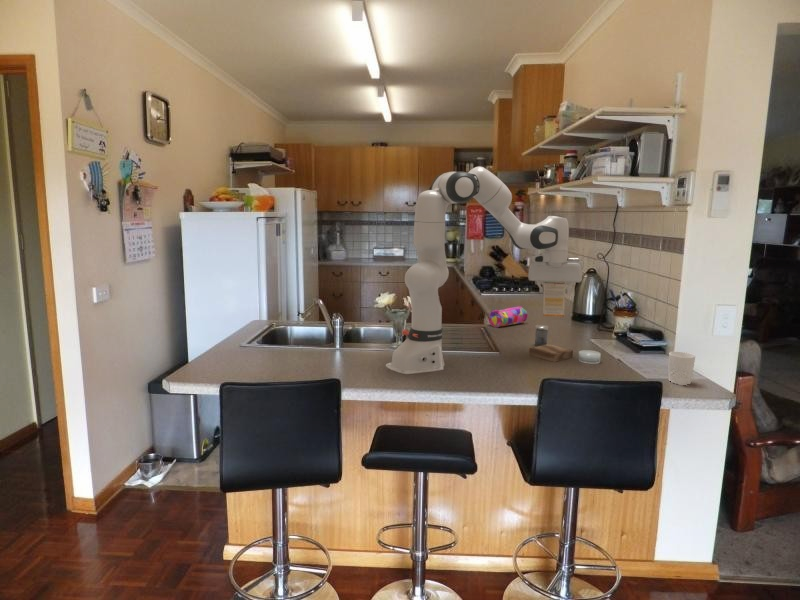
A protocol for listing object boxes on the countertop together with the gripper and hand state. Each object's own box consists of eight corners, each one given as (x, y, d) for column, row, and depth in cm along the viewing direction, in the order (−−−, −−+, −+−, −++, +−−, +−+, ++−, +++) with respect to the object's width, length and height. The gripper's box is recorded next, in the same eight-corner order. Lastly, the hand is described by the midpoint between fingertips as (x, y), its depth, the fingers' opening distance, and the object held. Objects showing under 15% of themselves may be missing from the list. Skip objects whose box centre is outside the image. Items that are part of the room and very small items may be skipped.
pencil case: (500, 329, 258) (501, 311, 257) (486, 326, 266) (487, 308, 264) (528, 324, 272) (529, 307, 270) (514, 321, 279) (515, 304, 278)
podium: (553, 362, 202) (553, 354, 201) (528, 355, 211) (529, 347, 211) (572, 357, 209) (573, 349, 208) (547, 351, 218) (548, 343, 218)
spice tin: (541, 348, 222) (542, 328, 221) (531, 345, 227) (532, 325, 225) (549, 346, 226) (551, 326, 224) (539, 344, 230) (541, 324, 228)
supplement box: (564, 314, 208) (565, 282, 206) (564, 317, 204) (565, 283, 202) (542, 313, 211) (544, 281, 209) (542, 316, 206) (543, 283, 204)
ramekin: (592, 365, 198) (592, 356, 198) (574, 360, 205) (574, 352, 204) (604, 362, 203) (605, 353, 203) (586, 357, 210) (586, 349, 209)
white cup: (670, 385, 176) (673, 356, 175) (663, 378, 184) (665, 350, 182) (695, 387, 175) (699, 358, 173) (687, 379, 183) (690, 352, 181)
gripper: (584, 257, 203) (582, 293, 205) (530, 256, 210) (529, 290, 212) (583, 258, 197) (581, 295, 199) (528, 257, 204) (527, 292, 207)
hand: (554, 292), depth 206 cm, fingers closed on supplement box, 8 cm apart
